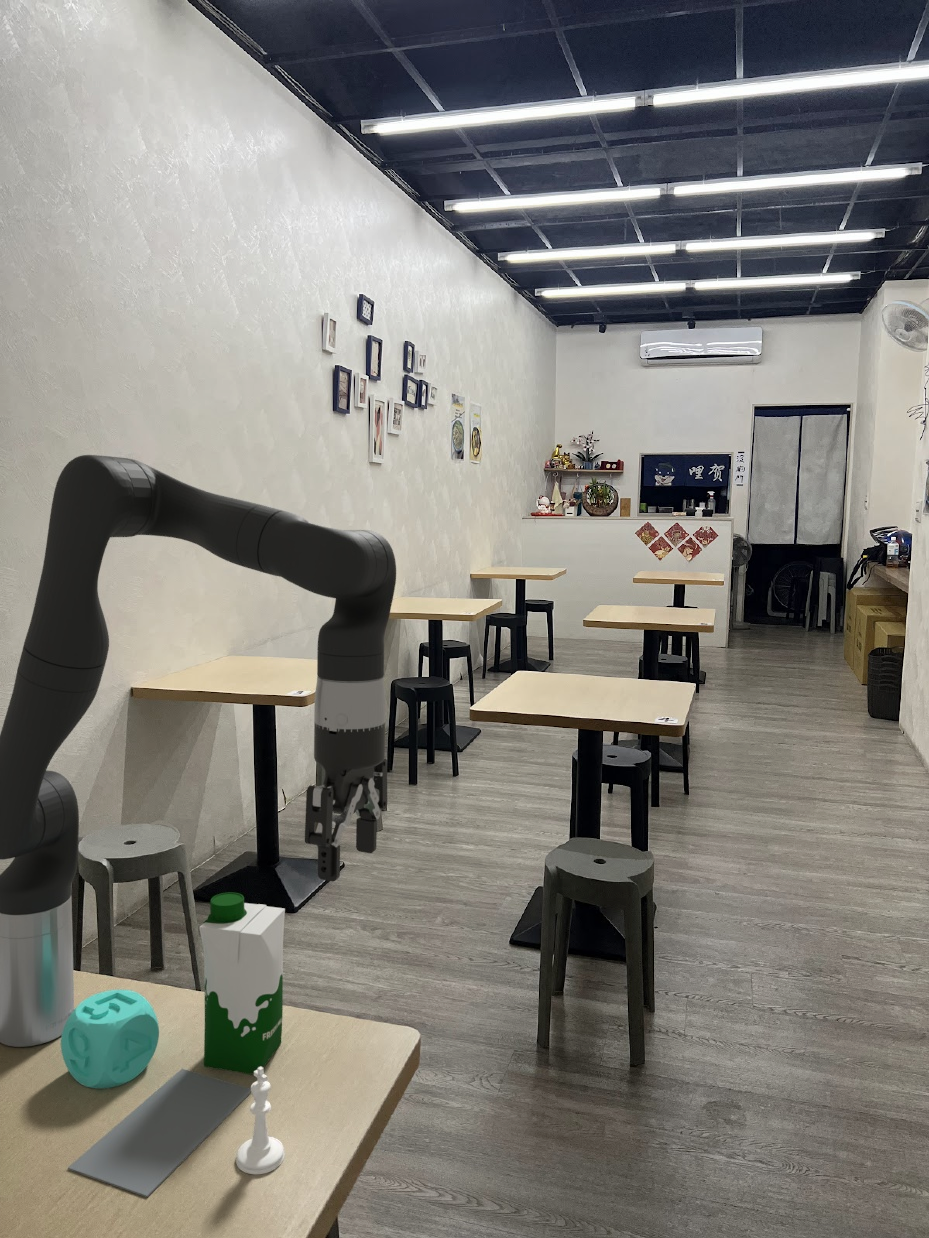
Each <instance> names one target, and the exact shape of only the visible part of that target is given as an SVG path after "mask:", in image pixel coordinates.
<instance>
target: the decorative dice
mask: <svg viewBox="0 0 929 1238" xmlns="http://www.w3.org/2000/svg"><path fill="white" fill-rule="evenodd" d="M159 1038H160V1027H159V1022H158V1017H157V1014H156V1012H155V1010H154V1008H153V1006H152V1005H151V1003H150V1002H149V1001H148V999H146V998H145V997H144V996H143V995H141V994H140V993H139V992H137V991H133V990H131V989H130V990H129V989H112V990H111V989H110V990H106V991H101V992H98V993H96V994H92V995H91V996H88V997H87V998H85V999H83V1000H82V1001H81V1002H80V1003H79V1004H78V1005H77V1006H76V1007H74V1011H73V1012H72V1013H71V1015H70V1016H69V1018H68V1020H67V1022H66V1024H65V1026H64V1029H63V1032H62V1035H61V1036H60V1050H61V1054H62V1058H63V1061H64V1064H65V1067H66V1068H67V1070H68V1072H69V1074H70V1075H71V1076H72V1077H73V1078H74V1080H75V1081H76V1082H78V1083H79V1084H81V1085H83V1086H84V1087H86V1088H91V1089H97V1090H99V1089H100V1090H101V1089H110V1088H111V1089H112V1088H115V1087H119V1086H122V1085H124V1084H126V1083H129V1082H130V1081H133V1080H134V1079H135V1078H137V1077H138V1076H139V1075H140V1074H141V1073H142V1072H143V1071H144V1070H145V1069H146V1068H147V1066H148V1065H149V1063H150V1062H151V1061H152V1060H153V1059H152V1058H153V1056H154V1055H155V1054H156V1053H155V1052H156V1050H157V1047H158V1042H159Z"/></svg>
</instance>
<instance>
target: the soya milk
mask: <svg viewBox="0 0 929 1238" xmlns="http://www.w3.org/2000/svg"><path fill="white" fill-rule="evenodd" d="M209 905H210V907H209V908H210V909H209V910H210V911H209V912H210V913H209V915H208V917H207V918H206V919H205V920H204V921H203V923H202V924H201V925H200V926H199V934H200V939H201V944H202V948H203V955H204V957H203V961H204V965H203V966H204V967H203V968H204V975H203V976H204V979H203V980H204V982H203V983H204V1036H203V1037H204V1039H203V1041H204V1044H203V1045H204V1047H203V1050H204V1051H203V1067H204V1068H210V1069H216V1070H221V1071H222V1070H223V1071H227V1072H234V1073H241V1074H248V1075H253V1076H254V1071H255V1070H258V1068H259V1067H263V1068H264V1069H265V1066H266V1065H267V1064H268V1062H269V1061H270V1059H271V1058H272V1056H273V1055H274V1053H276V1051H277V1050H278V1048H279V1046H280V1045H281V1044H282V1036H283V1035H282V1034H283V1033H282V1032H283V1009H284V1008H283V1006H284V1005H283V1003H284V1002H283V1001H284V999H283V998H284V996H283V994H284V993H283V991H284V990H283V987H284V986H283V984H284V983H283V982H284V979H283V975H284V973H283V971H284V967H283V966H284V963H283V961H284V951H283V950H284V934H285V933H284V931H285V916H286V914H285V913H286V908H282V907H275V906H267V904H260V903H258V904H257V903H248V902H245V897H244V895H243V894H241V893H238V892H229V891H228V892H221V893H219V894H218V893H217V894H216V895H213V896H212V897H211V899H210V903H209Z"/></svg>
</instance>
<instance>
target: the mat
mask: <svg viewBox="0 0 929 1238" xmlns="http://www.w3.org/2000/svg"><path fill="white" fill-rule="evenodd" d="M250 1094H252V1092H251V1087H247V1086H244V1085H239V1084H236V1083H233V1082H229V1081H227V1080H223V1079H219V1078H216V1077H212V1076H209V1075H205V1074H202V1073H200V1072H199V1073H198V1072H195V1071H192V1070H189V1069H185V1068H181V1069H180V1070H179V1071H178V1072H176V1073H175V1074H173V1076H172V1077H171V1078H170V1079H168V1080H167V1081H166V1082H165V1083H164V1084H163V1085H161V1086H160V1087H158V1089H157V1090H156V1091H155V1092H153V1093H152V1094H151V1095H150V1096H149V1097H148V1098H146V1099H145V1100H144V1101H143V1102H142V1103H140V1104H139V1105H138V1106H137V1107H136V1108H134V1110H132V1111H131V1112H130V1113H129V1114H128V1115H126V1117H124V1118H122V1120H121V1121H120V1122H119V1123H117V1124H116V1125H115V1126H114V1127H113V1128H112V1129H111V1130H110V1131H108V1132H107V1133H106V1134H105V1135H104V1136H102V1137H101V1138H100V1139H99V1140H97V1142H96V1143H94V1144H93V1145H91V1146H90V1148H89V1149H87V1150H86V1151H85V1152H84V1153H83V1154H82V1155H80V1156H79V1157H78V1158H77V1159H76V1160H74V1161H73V1162H72V1163H71V1164H70V1165H69V1166H68V1167H67V1170H69V1171H70V1172H71V1171H72V1172H74V1173H77V1174H80V1175H83V1176H85V1177H89V1178H91V1179H94V1180H95V1181H96V1180H97V1181H99V1182H103V1183H105V1184H107V1185H108V1184H109V1185H111V1186H114V1187H116V1188H120V1189H123V1190H125V1191H128V1192H130V1193H132V1194H136V1195H139V1196H141V1197H144V1198H149V1197H150V1196H151V1195H152V1194H153V1193H154V1192H155V1191H156V1190H157V1189H158V1188H159V1186H161V1185H162V1183H164V1182H165V1180H167V1178H169V1176H170V1175H171V1174H172V1173H174V1171H176V1169H178V1168H179V1167H180V1165H182V1163H183V1162H184V1161H185V1160H186V1159H187V1158H188V1157H189V1156H190V1155H191V1154H192V1153H193V1152H194V1151H195V1150H196V1149H197V1148H198V1147H199V1146H200V1145H201V1144H202V1143H203V1142H204V1141H205V1140H206V1139H207V1138H208V1137H209V1136H210V1135H211V1134H212V1133H213V1132H214V1131H215V1130H216V1129H217V1128H218V1127H219V1126H220V1125H221V1123H223V1121H224V1120H225V1119H226V1118H228V1117H229V1116H230V1115H231V1113H232V1112H234V1110H236V1108H237V1107H239V1105H240V1104H242V1102H243V1101H245V1099H246V1098H247V1097H248V1096H249V1095H250Z"/></svg>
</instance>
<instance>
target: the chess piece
mask: <svg viewBox="0 0 929 1238" xmlns="http://www.w3.org/2000/svg"><path fill="white" fill-rule="evenodd" d="M264 1069H265V1067H264V1068H263V1067H259V1068H258V1070H255V1071H254V1075H253V1076H254V1077H255V1078H257V1080H256V1081H254V1082H253V1083H252V1084H251V1085H250V1088H251V1094H252V1097H253V1101H254V1102H253V1103H251V1105H250V1108H249V1112H250V1113H251V1114H252V1115H255V1118H254V1127H253V1135H252V1138H250V1139H248V1140H246V1141H245V1142H243V1143H242V1144H241V1145H240V1146H239V1147H238V1150H237V1153H236V1160H235V1161H236V1162H235V1163H236V1166H237V1168H238V1169H239V1170H240V1171H242V1172H243V1173H245V1174H247V1175H248V1174H249V1175H255V1176H256V1175H264V1174H267V1173H270V1172H272V1171H274V1170H276V1169H277V1168H278V1167H280V1165H281V1164H282V1163H283V1162H284V1159H285V1148H284V1144H283V1143H282V1142H281V1141H280V1140H279V1139H277V1138H276V1137H273V1136H269V1132H268V1126H267V1124H268V1123H267V1116H266V1114H268V1113H269V1112H270V1111H271V1109H272V1105H271V1103H270V1101H268V1100H267V1099H268V1096H269V1092H270V1090H271V1083H270V1082H269V1081H268V1075H266V1074H265V1071H264Z"/></svg>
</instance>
